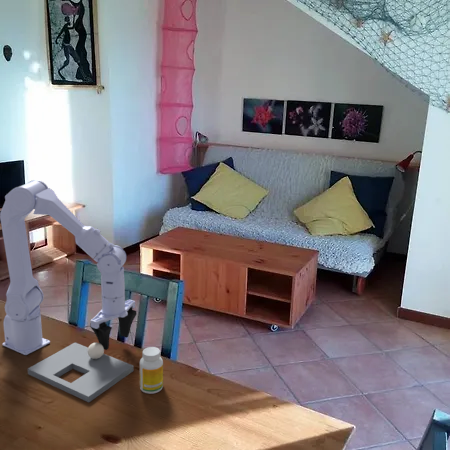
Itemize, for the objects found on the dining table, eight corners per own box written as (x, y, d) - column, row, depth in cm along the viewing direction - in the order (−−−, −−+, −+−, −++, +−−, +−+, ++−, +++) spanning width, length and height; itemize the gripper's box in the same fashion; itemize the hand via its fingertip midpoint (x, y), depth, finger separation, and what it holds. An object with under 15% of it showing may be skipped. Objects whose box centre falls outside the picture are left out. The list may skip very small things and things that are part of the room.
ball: (84, 359, 126) (83, 344, 125) (95, 352, 129) (95, 338, 128) (96, 363, 124) (95, 349, 123) (107, 356, 127) (107, 342, 126)
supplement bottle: (135, 386, 118) (134, 349, 116) (155, 378, 122) (155, 342, 119) (147, 397, 114) (147, 360, 112) (167, 389, 118) (167, 352, 115)
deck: (28, 374, 121) (27, 368, 121) (75, 347, 134) (74, 342, 133) (88, 402, 112) (88, 396, 111) (133, 370, 124) (133, 365, 124)
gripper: (104, 308, 120) (106, 359, 124) (143, 288, 132) (144, 335, 136) (83, 301, 123) (85, 350, 127) (123, 282, 136) (124, 327, 139)
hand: (114, 342), depth 132 cm, fingers open, 7 cm apart
